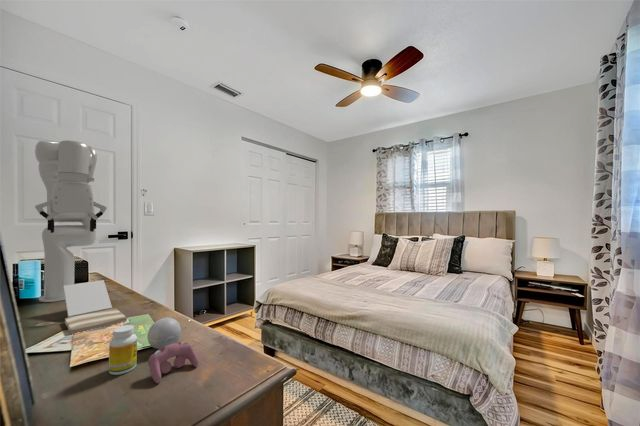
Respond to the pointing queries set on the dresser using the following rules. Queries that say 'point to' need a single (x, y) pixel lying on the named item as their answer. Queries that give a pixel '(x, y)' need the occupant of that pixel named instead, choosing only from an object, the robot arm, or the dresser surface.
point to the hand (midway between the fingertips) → (72, 231)
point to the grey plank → (86, 298)
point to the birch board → (94, 320)
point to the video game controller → (179, 350)
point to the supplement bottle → (122, 350)
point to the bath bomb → (164, 333)
